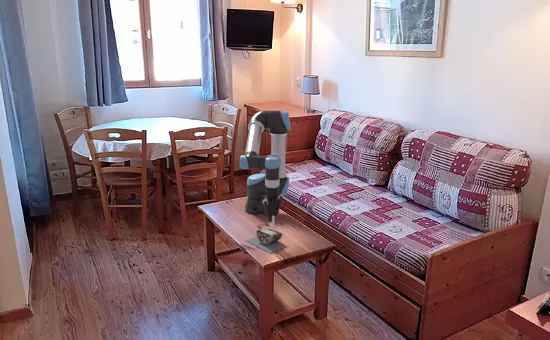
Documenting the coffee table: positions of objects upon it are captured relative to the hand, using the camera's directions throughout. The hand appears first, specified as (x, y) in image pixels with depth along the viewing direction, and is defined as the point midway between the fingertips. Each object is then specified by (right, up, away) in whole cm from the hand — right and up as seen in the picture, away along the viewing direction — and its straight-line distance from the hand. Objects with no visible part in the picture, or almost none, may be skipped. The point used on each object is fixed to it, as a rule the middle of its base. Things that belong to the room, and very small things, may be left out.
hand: (271, 226), depth 236 cm
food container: (+2, -6, +4) cm, 8 cm away
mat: (-3, -9, -1) cm, 10 cm away
